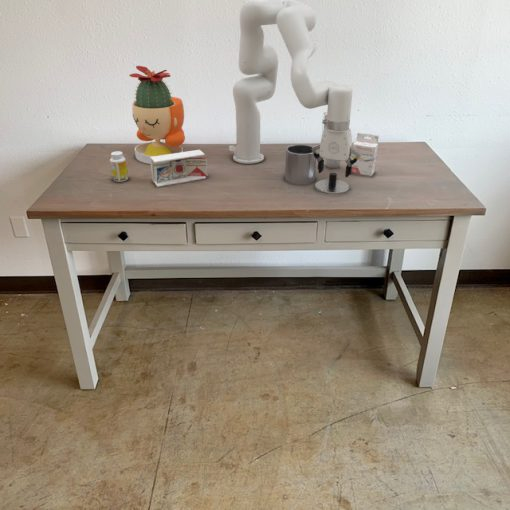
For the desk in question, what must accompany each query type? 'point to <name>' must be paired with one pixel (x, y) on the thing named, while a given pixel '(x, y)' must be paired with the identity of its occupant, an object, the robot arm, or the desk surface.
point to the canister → (300, 164)
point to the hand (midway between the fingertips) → (334, 173)
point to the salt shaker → (332, 163)
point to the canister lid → (332, 185)
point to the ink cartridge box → (365, 154)
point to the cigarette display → (178, 167)
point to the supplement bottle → (118, 167)
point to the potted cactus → (157, 116)
